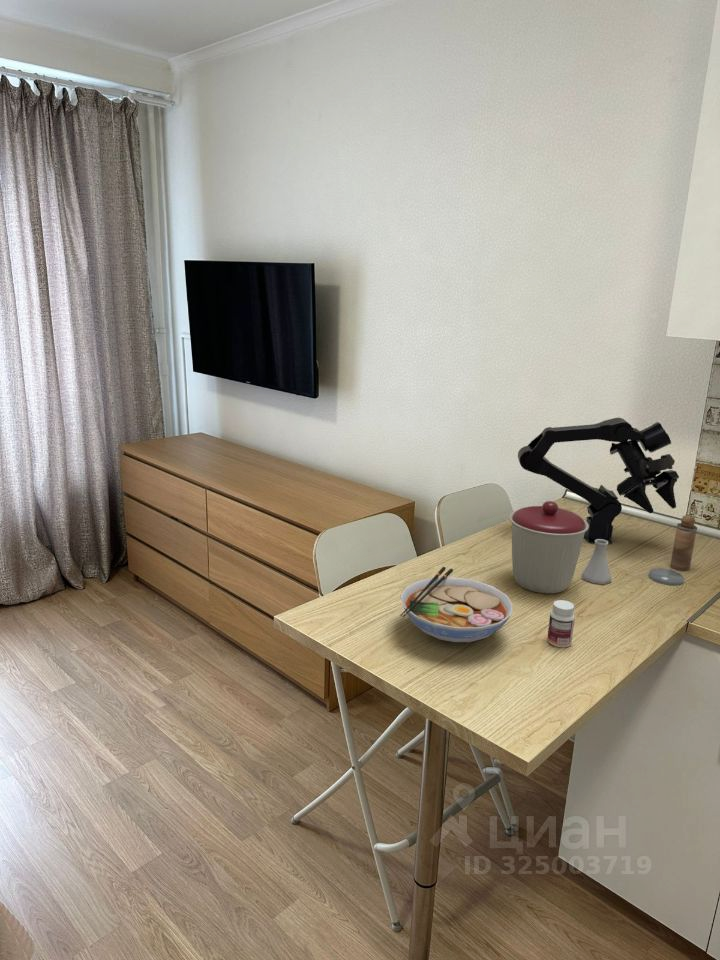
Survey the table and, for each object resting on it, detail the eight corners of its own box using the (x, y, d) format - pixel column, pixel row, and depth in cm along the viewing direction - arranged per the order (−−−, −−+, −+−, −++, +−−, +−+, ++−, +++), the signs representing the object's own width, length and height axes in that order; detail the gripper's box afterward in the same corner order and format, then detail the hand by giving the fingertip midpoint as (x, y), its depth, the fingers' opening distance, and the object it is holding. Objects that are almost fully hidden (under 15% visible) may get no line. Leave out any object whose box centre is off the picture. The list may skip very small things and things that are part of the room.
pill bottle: (552, 633, 138) (557, 596, 136) (574, 641, 135) (580, 604, 133) (542, 642, 134) (547, 604, 132) (565, 650, 132) (570, 612, 129)
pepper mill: (675, 571, 171) (684, 518, 167) (666, 563, 176) (675, 511, 172) (693, 571, 171) (703, 518, 167) (684, 564, 176) (693, 512, 172)
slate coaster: (657, 584, 163) (657, 581, 162) (643, 571, 170) (643, 567, 170) (689, 585, 163) (690, 581, 163) (673, 572, 170) (674, 568, 170)
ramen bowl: (487, 678, 121) (491, 638, 119) (376, 643, 132) (378, 606, 129) (525, 622, 142) (529, 587, 140) (426, 596, 153) (429, 563, 150)
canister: (550, 565, 172) (559, 487, 166) (596, 595, 156) (608, 510, 150) (488, 573, 166) (496, 493, 160) (530, 606, 150) (540, 517, 144)
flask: (606, 587, 160) (611, 549, 157) (576, 579, 164) (581, 541, 162) (615, 578, 166) (621, 540, 163) (586, 570, 170) (591, 533, 167)
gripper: (632, 447, 171) (662, 500, 165) (678, 441, 180) (709, 491, 174) (603, 469, 180) (631, 520, 174) (649, 462, 189) (677, 510, 183)
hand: (663, 510), depth 176 cm, fingers open, 9 cm apart
